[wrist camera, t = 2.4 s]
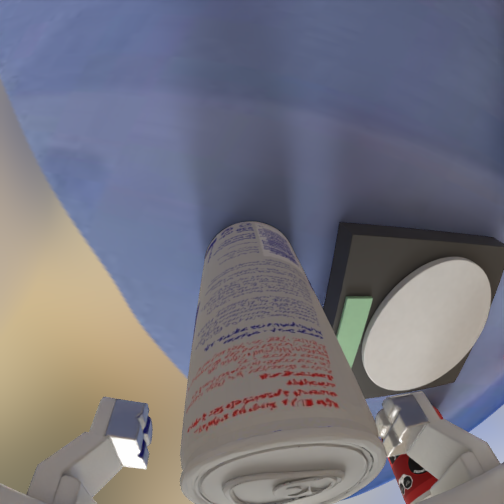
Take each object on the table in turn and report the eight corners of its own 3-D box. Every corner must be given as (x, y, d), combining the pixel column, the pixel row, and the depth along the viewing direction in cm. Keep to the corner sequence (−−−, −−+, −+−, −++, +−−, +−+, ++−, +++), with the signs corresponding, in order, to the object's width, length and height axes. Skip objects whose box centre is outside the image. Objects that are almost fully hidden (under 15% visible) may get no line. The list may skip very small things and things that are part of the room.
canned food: (428, 392, 28) (472, 467, 17) (441, 416, 30) (478, 480, 20) (368, 430, 29) (400, 511, 19) (391, 449, 32) (418, 516, 21)
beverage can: (186, 263, 20) (136, 491, 6) (248, 200, 19) (303, 403, 5) (249, 314, 22) (277, 530, 8) (310, 259, 21) (418, 462, 7)
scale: (339, 221, 20) (356, 237, 17) (492, 237, 21) (515, 250, 18) (305, 383, 25) (312, 409, 22) (443, 367, 26) (457, 386, 24)
